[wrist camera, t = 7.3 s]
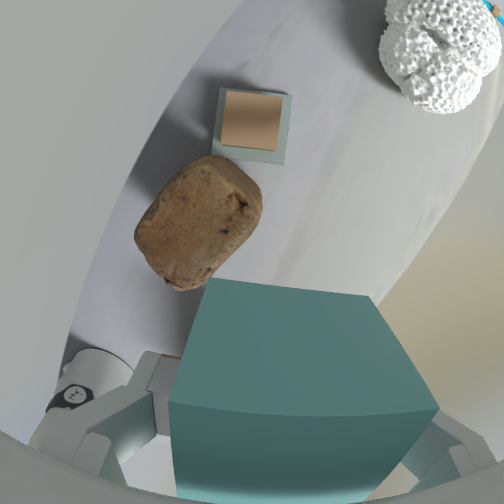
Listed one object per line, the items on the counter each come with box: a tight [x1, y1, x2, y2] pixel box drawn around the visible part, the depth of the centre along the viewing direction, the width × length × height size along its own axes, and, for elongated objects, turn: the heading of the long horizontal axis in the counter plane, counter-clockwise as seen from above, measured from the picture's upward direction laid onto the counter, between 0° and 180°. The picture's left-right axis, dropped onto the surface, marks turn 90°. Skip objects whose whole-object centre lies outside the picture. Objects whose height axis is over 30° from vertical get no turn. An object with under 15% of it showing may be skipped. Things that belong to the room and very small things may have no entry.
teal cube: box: [168, 277, 440, 504], centre depth 8 cm, size 5×5×5 cm
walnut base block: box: [220, 91, 283, 151], centre depth 33 cm, size 6×6×5 cm
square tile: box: [211, 88, 292, 165], centre depth 36 cm, size 9×9×1 cm
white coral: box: [378, 0, 502, 115], centre depth 26 cm, size 20×18×16 cm
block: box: [134, 155, 263, 291], centre depth 30 cm, size 11×8×20 cm
